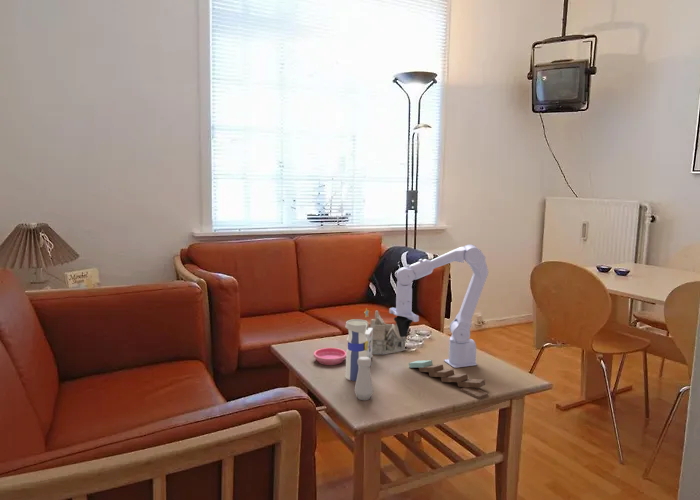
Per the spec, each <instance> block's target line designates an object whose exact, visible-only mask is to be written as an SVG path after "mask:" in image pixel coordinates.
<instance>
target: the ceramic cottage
mask: <svg viewBox="0 0 700 500" xmlns="http://www.w3.org/2000/svg"><path fill="white" fill-rule="evenodd" d="M369 328H373V344H372V355H387V354H394V353H399V352H402V351H406V349H405V344H406V341H407V335H406V336H405V337H401V336H400V334H399V330H398V326H397V324H396V323H392V324H391V323H386V322H385V321H384V319H383V318H382V317H381V315H380V312H379V310H375V313H374V318H372V319H370V324H369Z"/></svg>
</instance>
